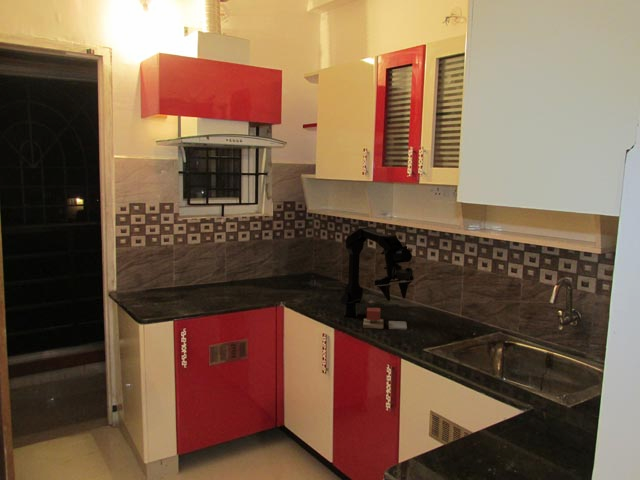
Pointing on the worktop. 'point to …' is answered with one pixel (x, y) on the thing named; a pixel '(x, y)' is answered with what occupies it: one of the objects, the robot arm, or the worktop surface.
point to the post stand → (373, 324)
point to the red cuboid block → (373, 313)
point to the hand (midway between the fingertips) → (396, 299)
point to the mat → (397, 325)
